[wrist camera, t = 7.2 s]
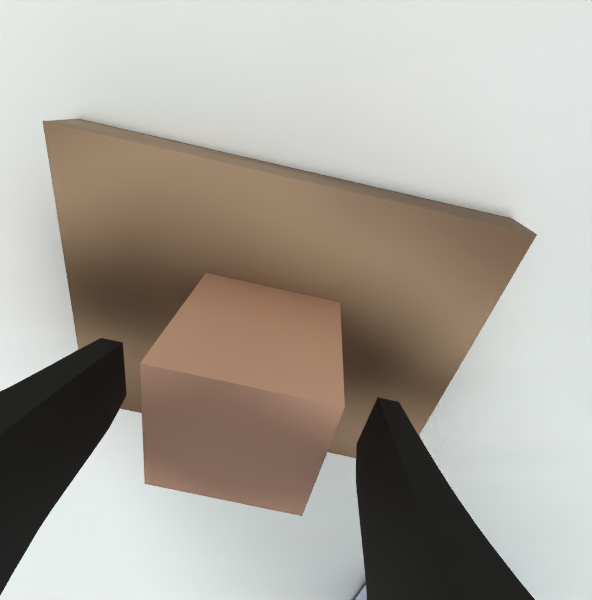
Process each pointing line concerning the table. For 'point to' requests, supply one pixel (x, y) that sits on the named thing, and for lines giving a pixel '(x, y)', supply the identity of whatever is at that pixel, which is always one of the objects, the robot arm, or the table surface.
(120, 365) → the robot arm
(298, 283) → the base board
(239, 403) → the terracotta cube
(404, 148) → the table surface
